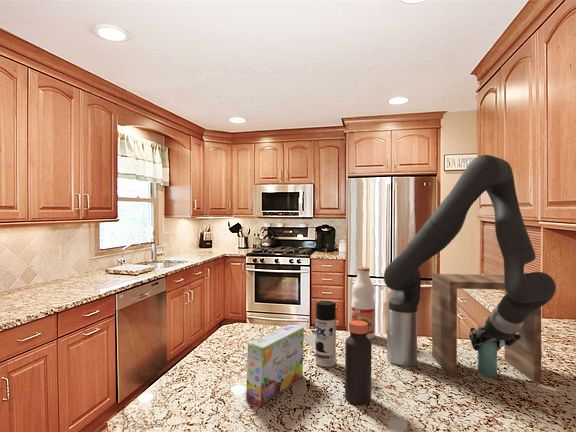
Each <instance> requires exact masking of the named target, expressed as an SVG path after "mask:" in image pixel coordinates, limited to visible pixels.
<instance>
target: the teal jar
mask: <svg viewBox="0 0 576 432" xmlns="http://www.w3.org/2000/svg"><path fill="white" fill-rule="evenodd" d="M484 326H485V325H478V326H477V330H481V328H483V327H484ZM480 341H481V339H480ZM478 372H479V373H480V374H479V373H478ZM477 373H478V374H479V375H481V374H482V375H481V376H483V375H484V376H483V377H487V378H496V377H497V376H498V351H497V341H491V342H489V343H487V344H482V345H481V347H480V348H479V349H478V351H477Z"/></svg>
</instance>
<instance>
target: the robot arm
mask: <svg viewBox="0 0 576 432" xmlns="http://www.w3.org/2000/svg"><path fill="white" fill-rule="evenodd" d="M514 178H515V177H514V173H513V168H512V166H511V164H510V162H508V161H506V160H505V159H503V158H501V157H500V158H499V157H498V156H497V157H496V156H493V155H489V154H482V155H479V156H477V157H475V158H473V159H472V160H471V161H470V162H469V163H468V165H467V166H466V167H465V169H463V172H462V173H461V175H460V176H459V179H458V180H457V181H456V183H455V184H454V186H453V187H452V189H451V191H449V193H448V194H447V196H446V197H445V198H444V199H443V201H441V203H440V204H439V205H438V206H437V208H436V209H435V210H434V212H433V213H432V214H431V215H430V217H429V218H428V219H427V220H426V221H425V222H424V224H422V226H421V228H420V229H419V230H418V232H416V234H415V235H414V237H413V238H412V239H411V240H410V241H409V243H408V244H407V246H406V247H405V248H404V249H403V250H402V251H401V252H400V253H399V254H398V255H397V256H396V257H395V259H393V260H392V261H391V262H390V263H389V264H388V265H387V267H386V268H385V271H384V273H383V282H384V284H385V285H386V287H387V288H389V290H393V291H395V292H394V294H393V296H392V297H391V298H390V299H389V301H388V328H387V329H386V358H387V359H388V361H389V363H390V364H393V365H398V366H406V367H410V366H411V367H412V366H415V365H417V364H418V306H419V303H420V300H421V289H422V288H421V287H422V286H421V284H422V277H421V276H422V275H421V272H420V269H419V268H420V267H421V266H422V265H423V264H424V263H426V262H427V261H428V260H430V259H431V258H433V257H434V256H436V255H437V254H439V253H440V252H442V251H443V250H444V249H445V248H446V247H447V246H448V245H450V244H451V242H452V241H453V240H454V239H455V238H456V237H457V235H458V234H459V233H460V231H461V230H462V228H463V226H464V224H465V220H466V219H467V218H466V217H467V215H468V212H469V210H470V208H471V207H472V206H473V204H474V203H475V202H476V201H477V200H478V199H479V198H480V197H481V195H483V193H485V192H486V193H487V195H488V197H489V199H490V201H491V204H492V206H493V212H494V222H495V223H494V229H495V230H494V231H495V238H496V240H497V243H498V246H499V249H500V250H499V251H500V252H501V255H502V258H503V269H504V270H503V272H504V274H503V275H504V283H505V289H506V292H507V294H506V295H505V294H504V296H503V297H502V298H501V300H500V301H499V302H498V304H497V305H496V306H494V307H493V310H492V311H491V313H490V314H488V315H489V316H488V317H487V318H486V320H485V321H484V325H483V326H484V327H483V328H481V330H478V329H475V327H471V328H470V331H469V335H468V338H469V340H470V343H471V346H472V349H473V350H474V351H475V352H478V349H479V348H480V347H481V345H482V344H487V343H489V342H491V341H497V352H498V351H499V350H501V348H502V347H505V345H507V346H511V345H512V344H513V343H515V342H516V341H518V340H519V339H520V338H521V336H520V334H519V332H518V330H519V329H520V328H521V326H522V325H523V323H524V321H525V320H526V319H527V317H528V316H529V315H530V313H532V312H533V311H535V310H537V309H538V308H540V307H541V308H542V307H543V306H545V305H546V304H547V303H549V302H550V301H551V300H552V299H553V297H554V296H555V294H556V290H557V289H556V288H557V287H556V283H555V280H554V279H553V277H552V276H550V275H549V274H548V273H546V272H543V271H534V272H525V270H524V269H525V265H526V264H529V263H532V262H534V261H535V260H536V258H537V257H536V252H535V250H534V247H533V243H532V241H531V239H530V236H529V233H528V231H527V228H526V225H525V222H524V219H523V215H522V211H521V209H520V205H519V201H518V196H517V191H516V184H515V179H514ZM480 339H481V341H480Z"/></svg>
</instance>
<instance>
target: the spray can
mask: <svg viewBox="0 0 576 432" xmlns="http://www.w3.org/2000/svg"><path fill="white" fill-rule="evenodd" d="M315 329H316V349H315V354H314V355H315V364H316V366H319V367H321V368H333V367H335V365H336V358H337V357H336V349H337V348H336V347H337V346H336V344H337V343H336V341H337V303H336V302H335V301H333V300H332V301H331V300H320V301H316V303H315Z"/></svg>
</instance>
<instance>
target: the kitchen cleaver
mask: <svg viewBox="0 0 576 432" xmlns="http://www.w3.org/2000/svg"><path fill="white" fill-rule="evenodd" d="M309 329H316V326H314V325H311V326H309V327H308V330H309ZM310 331H311V334H307V335H304V340H305V341H306V342H307V343H308V344H309V345H310V346H311V347H313V349H315V350H316V330H310Z"/></svg>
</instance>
